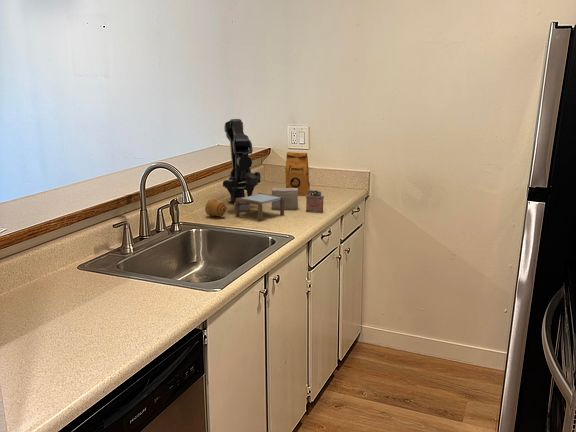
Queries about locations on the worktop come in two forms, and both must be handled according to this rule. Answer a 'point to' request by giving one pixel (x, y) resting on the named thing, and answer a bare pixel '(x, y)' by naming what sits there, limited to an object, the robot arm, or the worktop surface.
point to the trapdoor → (262, 198)
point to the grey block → (286, 198)
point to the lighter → (314, 202)
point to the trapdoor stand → (245, 201)
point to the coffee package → (297, 172)
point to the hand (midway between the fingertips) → (242, 200)
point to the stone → (243, 207)
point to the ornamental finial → (215, 208)
